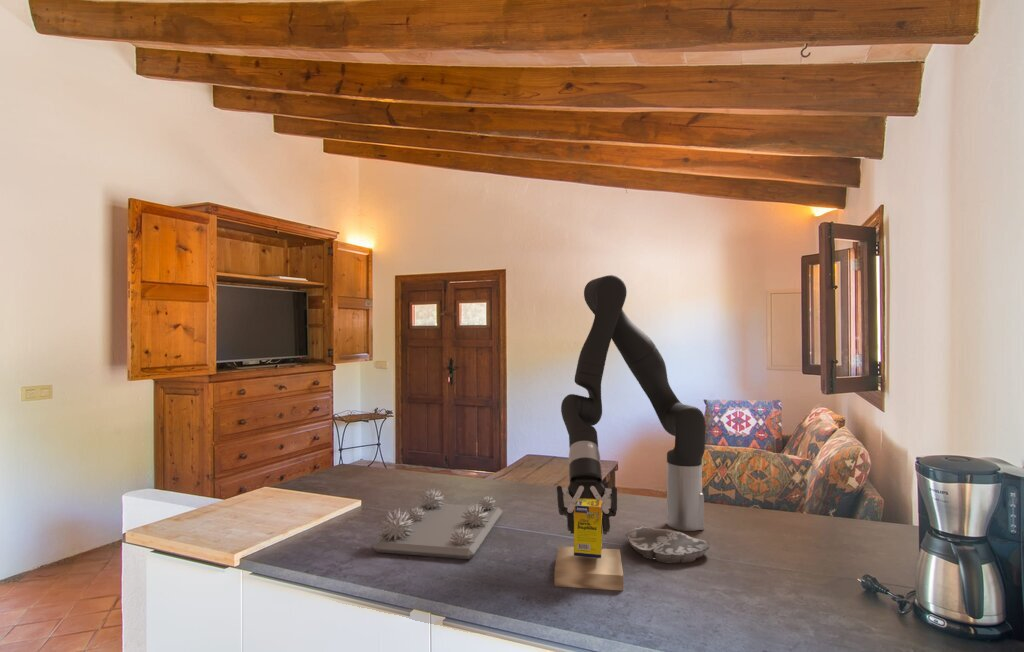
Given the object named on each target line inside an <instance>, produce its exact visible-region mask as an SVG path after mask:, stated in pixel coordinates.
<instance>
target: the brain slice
mask: <svg viewBox="0 0 1024 652" xmlns="http://www.w3.org/2000/svg"><path fill="white" fill-rule="evenodd" d="M625 535H626V539H627V541H628V542H629V545H630V546H631V547H632V549H634V550H635V551H636V552H637V553H639V554H641V555H642V557H644V556H645V557H644V558H646V557H648V558H647V559H650V558H651V559H650V560H654V559H653V558H656V559H655V560H656V561H657V560H658V561H657V562H659V561H660V563H665V562H671V563H670V564H676V563H677V562H678V563H681V562H685V563H691V561H692V562H694V561H696V559H699V557H700V558H702V557H703V556H704V554H705V553H706V552H707V551H708V550H709V549H710V545H711V544H710V543H709V542H708V541H706V540H703V539H700V538H695V537H691V536H690V535H688V534H685V533H683V532H681V531H675V530H673V529H668V528H667V529H665V528H653V527H649V526H637V527H635V528H632V529H630V530H628V531H627V532H626V533H625Z"/></svg>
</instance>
